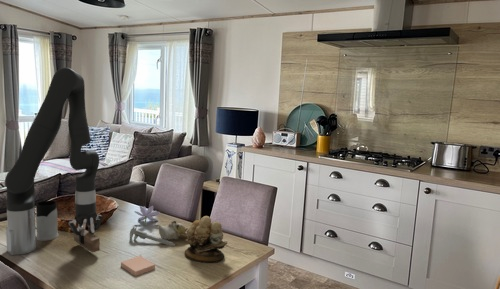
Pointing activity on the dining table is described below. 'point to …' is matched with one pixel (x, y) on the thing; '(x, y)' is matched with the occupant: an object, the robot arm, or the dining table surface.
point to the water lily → (147, 214)
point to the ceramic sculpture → (173, 231)
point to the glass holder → (46, 220)
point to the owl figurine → (205, 241)
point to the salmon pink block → (137, 265)
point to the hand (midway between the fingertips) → (86, 242)
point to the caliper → (148, 237)
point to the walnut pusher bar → (89, 241)
